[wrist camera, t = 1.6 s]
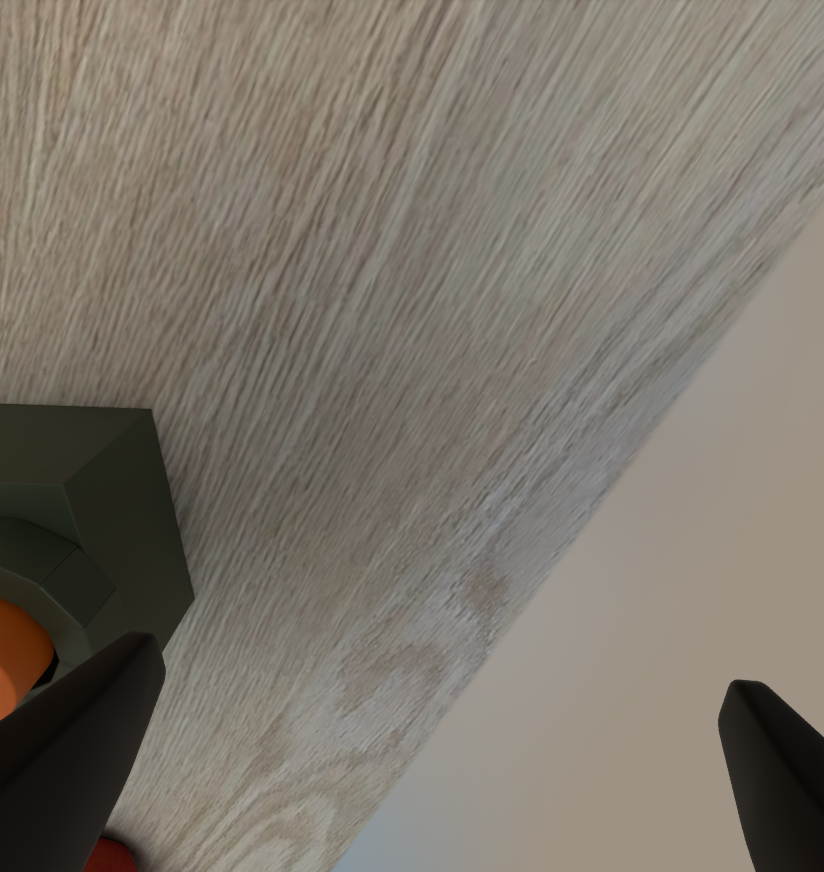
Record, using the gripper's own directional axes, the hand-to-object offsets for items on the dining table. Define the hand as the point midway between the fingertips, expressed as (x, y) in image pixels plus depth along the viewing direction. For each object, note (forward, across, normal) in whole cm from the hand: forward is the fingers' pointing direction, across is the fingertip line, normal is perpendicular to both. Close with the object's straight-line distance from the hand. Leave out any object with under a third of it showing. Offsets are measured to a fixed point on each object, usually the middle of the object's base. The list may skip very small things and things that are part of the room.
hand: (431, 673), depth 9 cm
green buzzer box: (+12, +16, +6) cm, 21 cm away
